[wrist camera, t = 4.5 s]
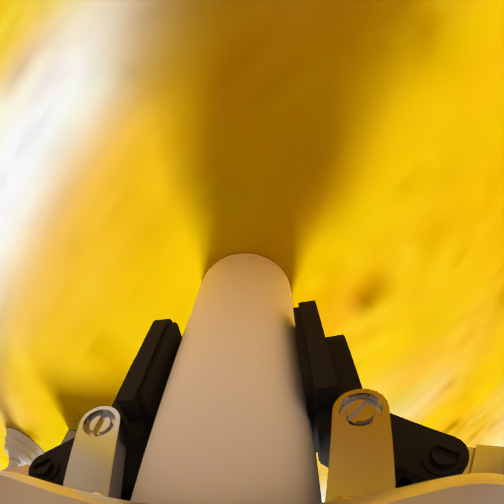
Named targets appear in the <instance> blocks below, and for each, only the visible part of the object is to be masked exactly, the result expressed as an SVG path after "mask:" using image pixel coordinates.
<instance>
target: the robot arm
mask: <svg viewBox="0 0 504 504" xmlns="http://www.w3.org/2000/svg"><path fill="white" fill-rule="evenodd" d="M293 312H294V320H295V328H296V335H297V342H298V348H299V355H300V362H301V369H302V376H303V384H304V391H305V398H306V406H307V413H308V416H309V418H310V420H311V423H312V429H313V436H314V444H315V451H316V452H318V457H319V461H320V463H321V464H323V465H324V466H326V467H328V479H327V489H326V498H325V503H319V504H504V447H498V446H486V445H476V447H475V448H471V447H467V446H466V445H465V444H464V443H463V442H462V441H461V440H460V439H458V438H456V437H454V436H451V435H448V434H445V433H442V432H439V431H436V430H434V429H431V428H428V427H425V426H423V425H420V424H417V423H414V422H412V421H409V420H407V419H404V418H401V417H399V416H396V415H394V414H391V413H390V412H389V405H388V402H387V400H386V399H385V397H384V396H383V395H382V394H380V393H378V392H377V391H374V390H370V389H362V386H361V383H360V380H359V377H358V374H357V371H356V368H355V365H354V362H353V359H352V356H351V353H350V350H349V347H348V344H347V342H346V339H345V336H344V335H337V336H332V337H326V338H325V335H324V331H323V328H322V324H321V320H320V317H319V313H318V309H317V306H316V302H315V300H314V301H308V302H301V303H299V307H297V308H293ZM181 340H182V336H181V333H180V330H179V327H178V325H177V323H173V322H172V321H171V320H170V319H164V320H155V321H154V322H153V324H152V326H151V328H150V330H149V332H148V334H147V336H146V338H145V340H144V342H143V344H142V346H141V348H140V350H139V352H138V354H137V356H136V358H135V359H134V361H133V363H132V365H131V367H130V369H129V371H128V373H127V375H126V378H125V380H124V382H123V384H122V386H121V388H120V390H119V392H118V395H117V397H116V399H115V401H114V403H113V405H112V407H110V406H101V407H96V408H94V409H92V410H90V411H89V412H87V413H86V414H85V415H84V416H83V417H82V419H81V421H80V423H79V426H78V429H77V432H76V436H75V437H74V438H72V439H70V440H68V441H67V442H65V443H63V444H61V445H59V446H57V447H55V448H53V449H51V450H49V451H47V452H45V453H43V454H41V455H39V456H38V457H36V458H35V459H34V460H33V462H32V463H31V465H30V466H29V465H28V464H26V465H22V466H18V467H14V468H10V469H6V470H2V471H0V504H146V503H139V502H133V501H130V500H131V497H132V493H133V490H134V486H135V483H136V480H137V476H138V473H139V470H140V466H141V463H142V460H143V456H144V453H145V450H146V447H147V443H148V440H149V437H150V434H151V431H152V427H153V424H154V421H155V418H156V415H157V412H158V409H159V405H160V402H161V399H162V396H163V393H164V390H165V387H166V384H167V381H168V378H169V375H170V372H171V369H172V366H173V363H174V360H175V357H176V354H177V352H178V349H179V346H180V343H181Z"/></svg>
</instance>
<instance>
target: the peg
mask: <svg viewBox="0 0 504 504" xmlns="http://www.w3.org/2000/svg"><path fill="white" fill-rule="evenodd" d="M293 308H294V304H293V298H292V292H291V286H290V283H289V280H288V278H287V276H286V274H285V273H284V272H283V270H282V269H281V268H280V267H279V266H278V265H277V264H275V263H274V262H273V261H271V260H269V259H268V258H265V257H263V256H260V255H256V254H250V253H241V254H234V255H230V256H227V257H225V258H223V259H221V260H219V261H218V262H216V263H215V264H214V265H213V266H212V267H211V268H210V269H209V270H208V271H207V273H206V274H205V276H204V278H203V281H202V284H201V286H200V289H199V292H198V295H197V297H196V300H195V303H194V306H193V309H192V311H191V314H190V317H189V320H188V323H187V326H186V328H185V331H184V334H183V337H182V340H181V343H180V346H179V349H178V352H177V354H176V357H175V360H174V363H173V366H172V369H171V372H170V375H169V378H168V381H167V384H166V387H165V390H164V393H163V396H162V399H161V402H160V405H159V409H158V412H157V415H156V418H155V421H154V424H153V427H152V431H151V434H150V437H149V440H148V443H147V447H146V450H145V453H144V456H143V460H142V463H141V466H140V470H139V473H138V476H137V480H136V483H135V486H134V490H133V493H132V497H131V500H130V501H133V502H139V503H146V504H319V503H322V501H321V492H320V483H319V475H318V467H317V459H316V451H315V444H314V436H313V429H312V423H311V420H310V418H309V416H308V413H307V406H306V398H305V391H304V384H303V376H302V369H301V362H300V355H299V348H298V342H297V335H296V328H295V320H294V312H293Z"/></svg>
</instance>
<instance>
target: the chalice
mask: <svg viewBox="0 0 504 504" xmlns="http://www.w3.org/2000/svg"><path fill="white" fill-rule="evenodd" d="M6 434H7V436H6V437H5V442H6V444H5V451H6V453H7V454H8V455H9V457H10V458H9V460H10V461H9V465H8V467H7V468H6V469H10V468H14V467H18V466H22V465H26V464H28V465H29V466H30V465H31V463H32V462H33V460H34V459H35V458H36V457H38V456H39V455H41V454H43V453H44V452H43V450H42V449H41V448H40V447H39V446H38V445H37V444H36V443H35V442H34V441H33V440H31V439H30V438H29V437H27V436H26V435H25V434H23V433H21V432H20V431H18V430H16V429H13V428H7V430H6ZM6 469H5V470H6Z"/></svg>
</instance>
